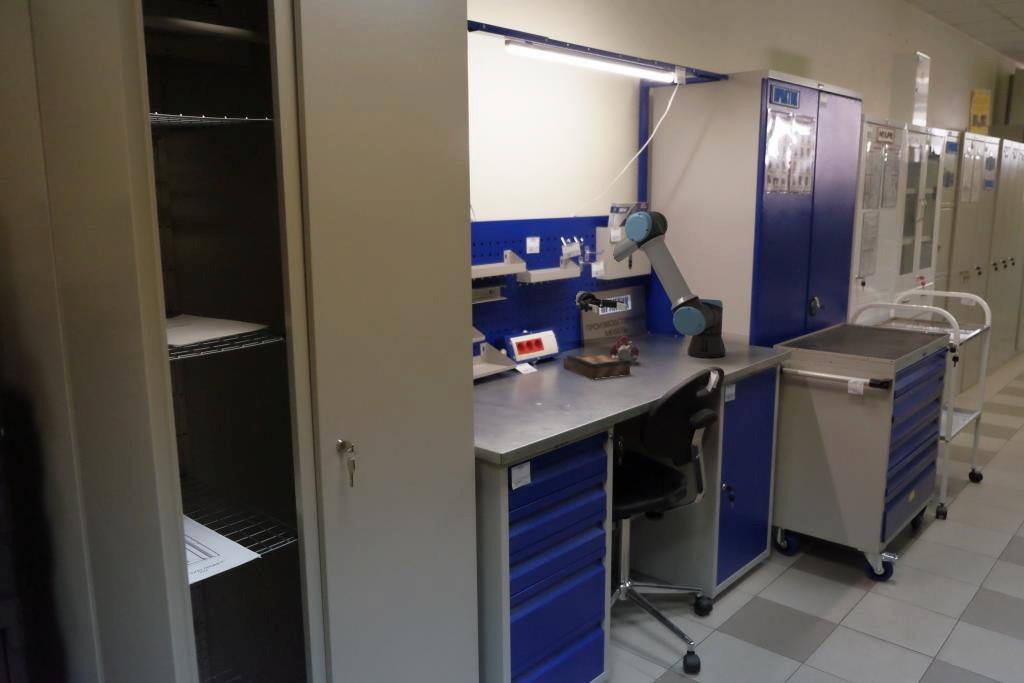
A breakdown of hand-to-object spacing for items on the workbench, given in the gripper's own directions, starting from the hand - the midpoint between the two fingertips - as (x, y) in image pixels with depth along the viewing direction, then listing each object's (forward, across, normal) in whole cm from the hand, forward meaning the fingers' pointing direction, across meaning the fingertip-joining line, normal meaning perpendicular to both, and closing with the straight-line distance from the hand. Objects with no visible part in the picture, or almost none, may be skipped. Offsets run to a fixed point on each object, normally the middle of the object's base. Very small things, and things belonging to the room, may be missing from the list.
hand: (612, 309), depth 299 cm
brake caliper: (+11, 0, -20) cm, 23 cm away
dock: (+17, +17, -20) cm, 31 cm away
